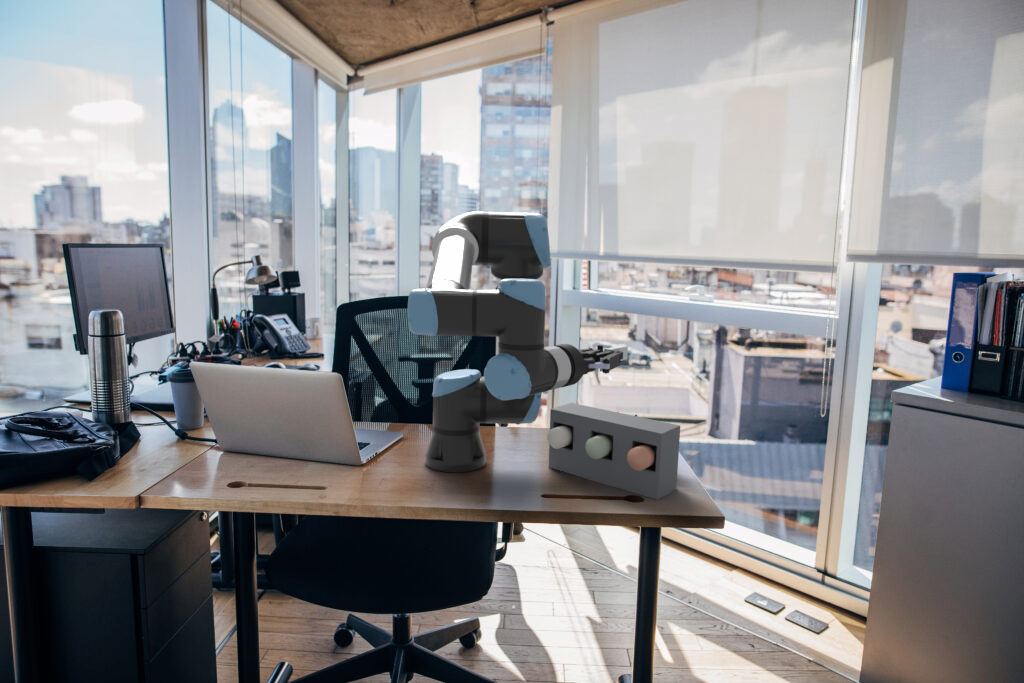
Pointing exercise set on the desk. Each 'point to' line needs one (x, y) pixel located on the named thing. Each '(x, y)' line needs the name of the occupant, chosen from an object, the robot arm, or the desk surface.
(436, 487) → the desk surface
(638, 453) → the terracotta button
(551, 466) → the grey button box
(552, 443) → the cream button
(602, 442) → the sage button
